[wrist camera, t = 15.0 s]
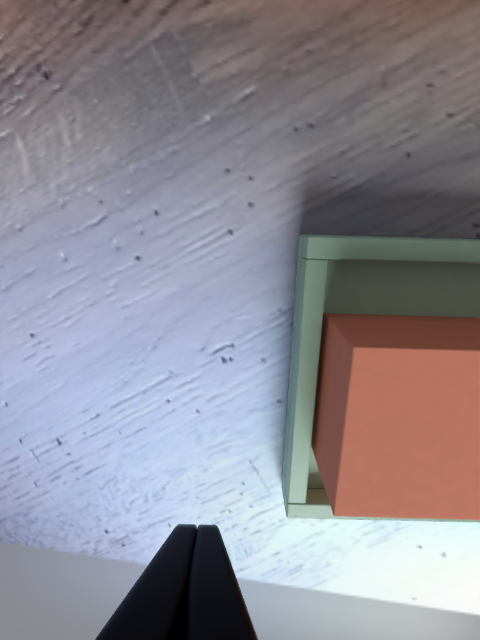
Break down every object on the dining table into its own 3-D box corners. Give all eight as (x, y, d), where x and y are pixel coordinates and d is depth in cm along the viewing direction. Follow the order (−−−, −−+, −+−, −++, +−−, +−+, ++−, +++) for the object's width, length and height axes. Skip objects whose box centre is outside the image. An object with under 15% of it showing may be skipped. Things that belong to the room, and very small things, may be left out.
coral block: (548, 319, 14) (663, 354, 10) (513, 450, 16) (602, 523, 12) (322, 312, 14) (353, 346, 10) (310, 444, 16) (333, 517, 12)
